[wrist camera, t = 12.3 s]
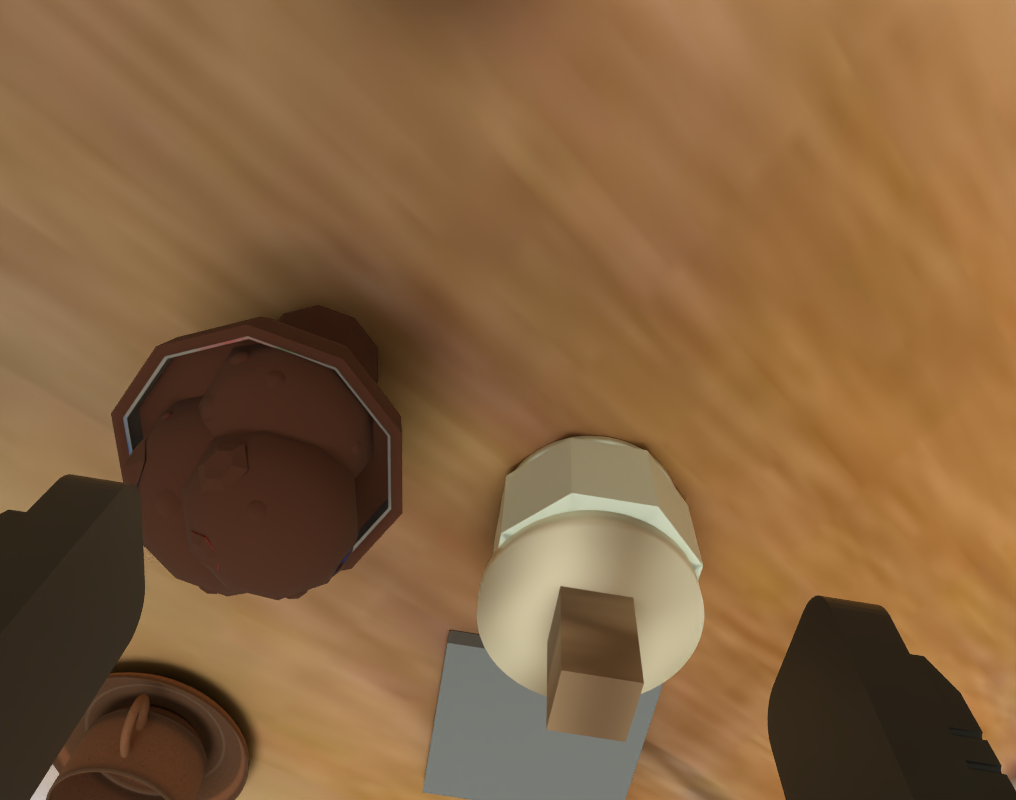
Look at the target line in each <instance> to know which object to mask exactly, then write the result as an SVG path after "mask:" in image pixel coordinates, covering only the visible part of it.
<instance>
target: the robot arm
mask: <svg viewBox="0 0 1016 800" xmlns="http://www.w3.org/2000/svg"><path fill="white" fill-rule="evenodd" d="M144 595H145V576H144V553H143V530H142V507H141V496H140V492H139V490H138V488H137V487H136V486H135V485H133V484H127V483H121V482H115V481H109V480H102V479H96V478H90V477H84V476H77V475H70V474H68V475H65V476H63V477H61V478H60V479H59V480H58V481H56V483H55V484H54V485H53V486H52V487H51V488H50V489H49V490H48V491H47V492H46V493H45V494H44V495H43V496H42V497H41V498H40V499H39V500H38V501H37V502H36V503H35V504H34V505H33V506H32V507H31V508H30V509H29V510H28V511H27V512H21V511H14V510H7V511H5V512H3V513H1V514H0V800H30V799H31V797H32V795H33V794H34V792H35V791H36V789H37V788H38V786H39V784H40V783H41V781H42V780H43V778H44V777H45V775H46V773H47V772H48V770H49V769H50V767H51V766H52V764H53V762H54V761H55V759H56V758H57V756H58V754H59V753H60V751H61V750H62V748H63V747H64V745H65V743H66V742H67V740H68V739H69V737H70V736H71V734H72V732H73V731H74V729H75V728H76V726H77V725H78V723H79V721H80V720H81V718H82V717H83V715H84V713H85V712H86V710H87V709H88V707H89V706H90V704H91V702H92V701H93V699H94V698H95V696H96V695H97V693H98V691H99V690H100V688H101V687H102V685H103V684H104V682H105V680H106V679H107V677H108V676H109V674H110V673H111V671H112V669H113V668H114V666H115V665H116V663H117V661H118V660H119V658H120V657H121V655H122V654H123V652H124V650H125V649H126V647H127V646H128V644H129V642H130V641H131V639H132V637H133V635H134V633H135V630H136V628H137V625H138V622H139V619H140V616H141V612H142V608H143V603H144ZM982 733H983V732H982V730H981V729H980V727H979V725H978V723H977V722H976V720H975V718H974V716H973V714H972V713H971V711H970V709H969V707H968V706H967V704H966V702H965V700H964V699H963V697H962V695H961V693H960V692H959V691H958V690H957V689H956V688H955V687H954V686H953V685H952V684H951V683H950V682H949V681H948V680H947V679H946V678H945V677H944V676H943V675H942V674H941V673H940V672H939V671H938V670H937V669H936V668H935V667H934V666H933V665H932V664H931V663H930V662H929V661H928V660H927V659H926V658H925V657H924V656H919V655H912V654H910V653H909V652H908V650H907V648H906V646H905V644H904V642H903V640H902V638H901V636H900V634H899V632H898V631H897V629H896V627H895V625H894V623H893V621H892V619H891V617H890V615H889V614H888V612H887V611H886V610H885V609H884V608H883V607H882V606H880V605H874V604H868V603H862V602H855V601H849V600H843V599H837V598H830V597H824V596H815V597H813V598H812V599H811V600H810V601H809V602H808V604H807V605H806V607H805V609H804V611H803V614H802V616H801V619H800V621H799V624H798V626H797V629H796V631H795V634H794V636H793V639H792V641H791V643H790V646H789V648H788V651H787V653H786V656H785V658H784V661H783V663H782V666H781V668H780V670H779V673H778V675H777V678H776V680H775V683H774V685H773V688H772V691H771V695H770V700H769V707H768V734H769V740H770V744H771V748H772V752H773V755H774V759H775V762H776V766H777V770H778V773H779V777H780V780H781V784H782V787H783V791H784V794H785V798H786V800H1016V791H1015V789H1014V787H1013V785H1012V784H1011V782H1010V780H1009V778H1008V776H1007V775H1005V774H1002V773H1001V764H1000V762H999V761H998V759H997V757H996V755H995V753H994V752H993V750H992V748H991V746H990V745H989V743H988V741H987V740H983V739H982Z"/></svg>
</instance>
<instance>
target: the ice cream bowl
mask: <svg viewBox="0 0 1016 800" xmlns="http://www.w3.org/2000/svg"><path fill="white" fill-rule="evenodd" d="M377 382H378V357H377V347H376V346H375V345H374V343H373V342H372V341H371V339H370V338H369V337H368V335H367V334H366V333H365V331H364V330H363V329H362V328H361V326H360V325H359V324H358V322H357V321H356V320H355V319H354V318H351V317H349V316H346V315H343V314H340V313H338V312H335V311H332V310H330V309H327V308H324V307H321V306H315V307H311V308H307V309H302V310H298V311H294V312H290V313H286V314H283V316H282V317H281V319H280V320H279V321H276V320H273V319H270V318H264V317H258V318H253V319H249V320H245V321H241V322H237V323H233V324H229V325H225V326H221V327H217V328H213V329H209V330H205V331H201V332H197V333H193V334H189V335H185V336H181V337H177V338H175V339H173V340H170V341H168V342H166V343H163V344H161V345H159V346H156V347H155V349H154V350H153V352H152V353H151V355H150V356H149V358H148V359H147V361H146V362H145V364H144V365H143V367H142V368H141V370H140V371H139V373H138V374H137V376H136V377H135V379H134V380H133V382H132V383H131V385H130V386H129V388H128V389H127V391H126V392H125V394H124V395H123V397H122V398H121V400H120V401H119V403H118V404H117V406H116V407H115V409H114V410H113V412H112V413H111V416H112V422H113V427H114V433H115V438H116V444H117V450H118V455H119V461H120V467H121V472H122V478H123V483H127V484H133V485H135V486H136V487H137V488H138V490H139V492H140V496H141V507H142V530H143V545H144V546H145V547H146V548H147V549H148V550H149V551H150V552H151V553H152V554H153V555H154V556H155V557H156V558H157V559H158V560H159V561H160V562H161V564H162V565H163V566H164V567H165V568H166V569H167V570H168V571H169V572H170V573H171V574H172V575H173V576H174V577H175V578H177V579H180V580H183V581H185V582H188V583H191V584H194V585H197V586H199V588H200V589H202V590H203V591H205V592H206V593H210V594H217V593H219V594H222V595H225V596H232V595H238V594H244V593H250V594H255V595H259V596H263V597H267V598H271V599H276V600H280V599H282V598H285V597H286V598H288V599H295V598H300V597H301V596H302V595H304V594H305V593H306V592H307V591H308V590H309V589H312V588H315V587H318V586H320V585H323V584H326V583H328V582H329V581H330V579H331V578H332V577H333V576H334V575H336V574H337V573H338V572H339V571H341V570H346V569H351V568H352V567H353V566H354V565H355V564H356V563H357V562H358V561H359V560H360V559H361V557H362V556H363V555H364V554H365V553H366V552H367V551H368V550H369V549H370V548H371V547H372V545H373V544H374V543H375V542H376V541H377V540H378V539H379V538H380V537H381V536H382V535H383V534H384V532H385V531H386V530H387V529H388V528H389V527H390V526H391V525H392V524H393V523H394V522H395V520H396V519H397V518H398V517H399V516H400V515H401V514H402V428H401V416H400V415H399V413H398V412H397V411H396V409H395V408H394V406H393V405H392V404H391V402H390V401H389V400H388V399H387V397H386V396H385V395H384V393H383V392H382V391H381V390H380V388H379V387H378V386H377V384H376V383H377Z"/></svg>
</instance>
